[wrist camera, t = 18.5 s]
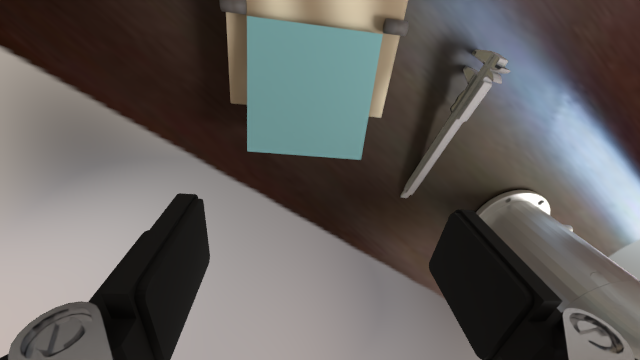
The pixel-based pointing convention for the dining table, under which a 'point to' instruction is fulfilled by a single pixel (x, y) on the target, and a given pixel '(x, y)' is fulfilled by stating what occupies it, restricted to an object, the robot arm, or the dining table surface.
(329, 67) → the latch flap
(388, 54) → the wooden block
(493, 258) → the robot arm
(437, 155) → the caliper
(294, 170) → the dining table surface
